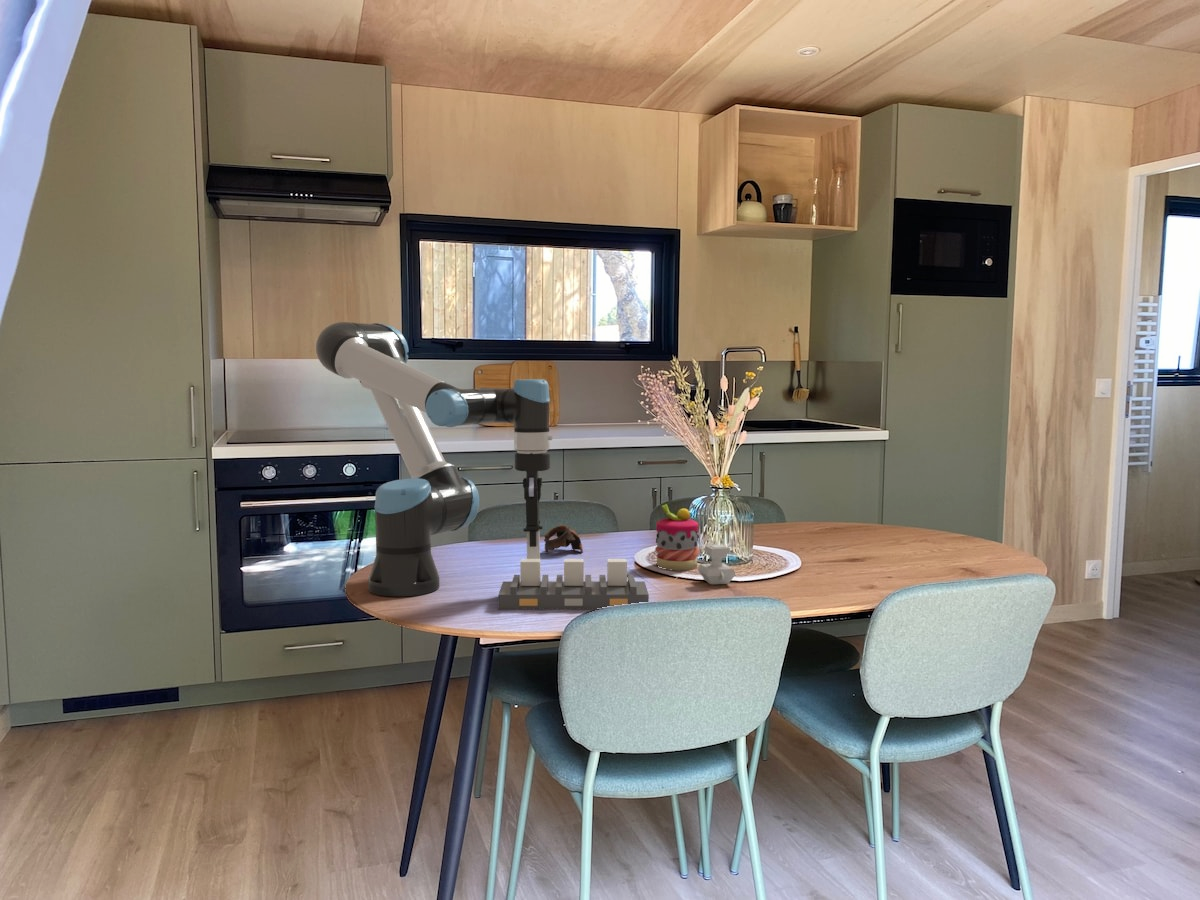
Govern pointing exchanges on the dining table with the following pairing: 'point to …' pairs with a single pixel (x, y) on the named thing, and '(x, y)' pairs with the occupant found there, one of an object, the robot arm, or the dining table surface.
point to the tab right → (617, 572)
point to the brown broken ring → (562, 539)
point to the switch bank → (570, 594)
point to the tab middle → (573, 572)
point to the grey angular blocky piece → (716, 566)
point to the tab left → (530, 572)
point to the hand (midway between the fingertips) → (533, 560)
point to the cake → (677, 541)
